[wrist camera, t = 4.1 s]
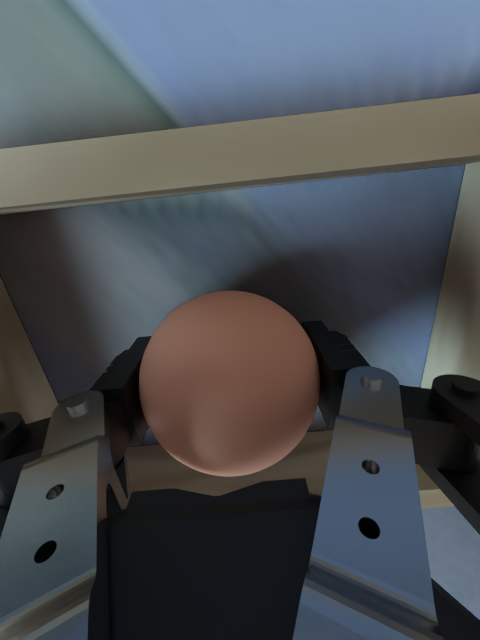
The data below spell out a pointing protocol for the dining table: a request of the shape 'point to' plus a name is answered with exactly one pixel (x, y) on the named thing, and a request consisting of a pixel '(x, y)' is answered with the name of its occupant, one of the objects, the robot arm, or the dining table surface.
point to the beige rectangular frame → (246, 172)
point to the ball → (229, 383)
